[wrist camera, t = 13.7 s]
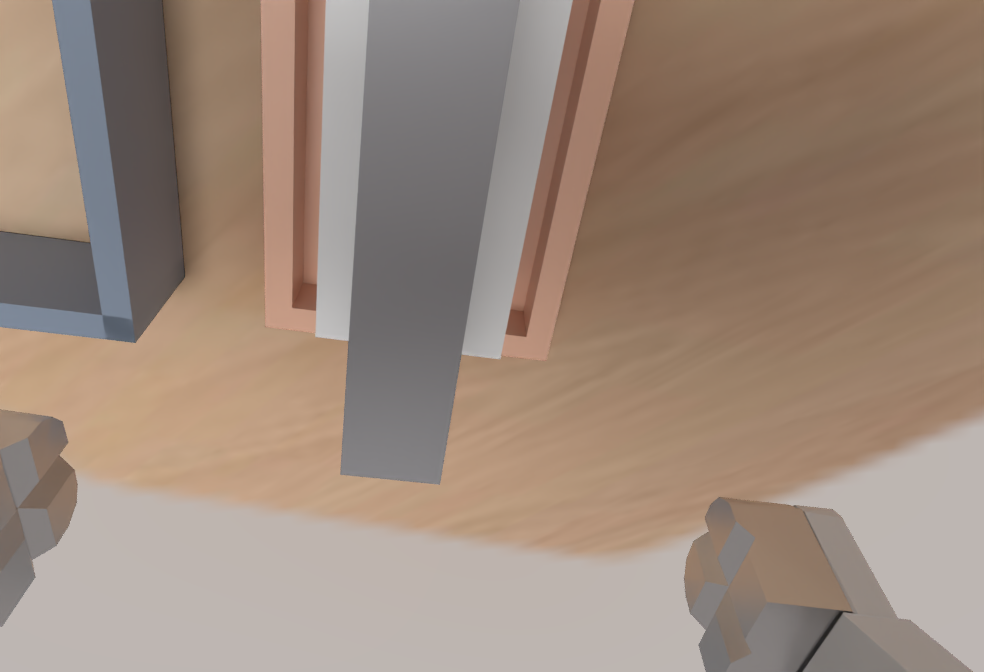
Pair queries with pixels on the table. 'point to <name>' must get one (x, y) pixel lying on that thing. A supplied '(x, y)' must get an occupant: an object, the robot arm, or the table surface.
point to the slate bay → (107, 184)
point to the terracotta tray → (558, 191)
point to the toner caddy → (425, 204)
